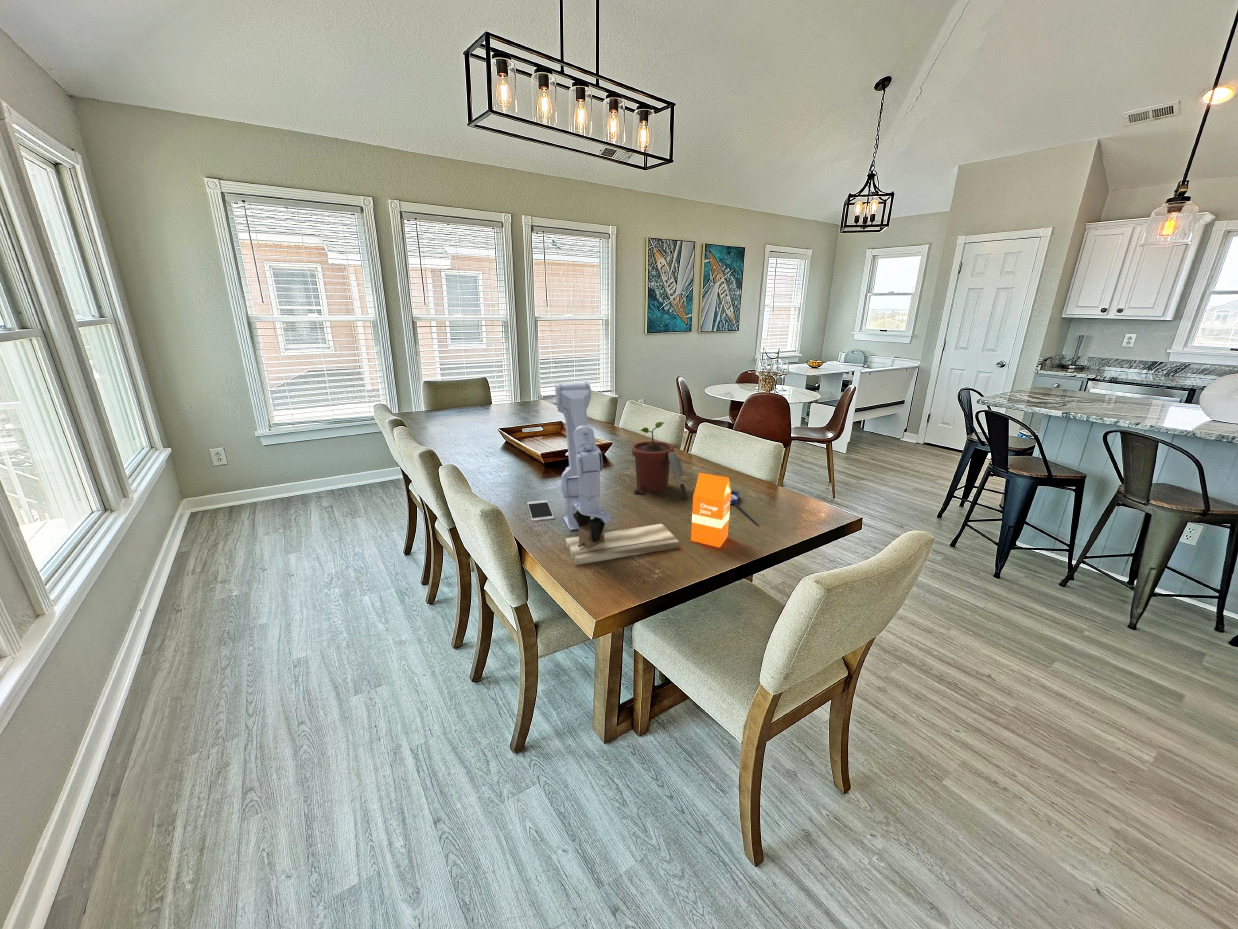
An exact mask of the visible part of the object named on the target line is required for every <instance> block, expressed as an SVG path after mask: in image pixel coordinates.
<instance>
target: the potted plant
mask: <svg viewBox="0 0 1238 929" xmlns="http://www.w3.org/2000/svg"><path fill="white" fill-rule="evenodd" d="M664 424H665V421H664V422H663V421H657V422H655V426H654V428H653V429H652V430H650V429H649V428H648V427H643V428H641V429H640V432H643V433H645V434H648V433H650V434H651V440H646V441H639V442H635V443H633V444H632V445H631V452H632V453H631V454H632V456H633V457H634V459H635V460H634V461H635V476H636V477H635V478H636V489H634V490H633V491H632V494H634V495H639V496H644V495H646V493H648V492H650V493H649V494H657V492H658V493H662V491H663V492H665V491H666V489H668V486H669V485H668V484H669V474H670V469H671V473H672V476H673V480H676V481H677V482H679V483H680V484H679V486H680V490H681V494H682V498H683V499H688V493H687V490H686V486H685V484H684V483H683V481H682V480H680V479H679V478H682V477H684V475H685V472H684V470H683V466H682V461H681V459H680V458H679V455H678V454H677V453H675V446H674V445H673V444H672V443H668V442H665V441H657V440H654V431H655V430H656V429H659V428H661V427H662V426H663V425H664ZM637 488H638V489H637ZM643 491H644V492H643Z"/></svg>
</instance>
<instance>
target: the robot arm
mask: <svg viewBox="0 0 1238 929" xmlns="http://www.w3.org/2000/svg"><path fill="white" fill-rule="evenodd" d="M554 394H555V401H556V408H557V412H559V413H561V414H563V416H564V421H565V433H566V442H567V444H566V445H567V453H568V454H567V455H568V467H567V468H566V469H565V470H564V471H563V472H562V473H561V475H560V479H561V481H560V482H561V483H560V485H561V486H560V489H561V496H562V497H563V498H564V499H565V514H566V515H565V516H563V521H564V522H565V523H566V524H565V525H566V526H567V528H568V530H569V531H575V530H579V527H581V526H584V525H586V524H588V523H589V525H590V528H591V532H592V540H593V542H594V543H595V542H598V541H600V537H601V533H602V530H603V528H604V529H605V525H607V524H610V523H612V514H610V513H608V512H607V511H606V510H605V509H604V508H603V507H604V506H603V505H602V504H601V472H602V470H603V467H604V463H603V462H604V461H603V454H602V451H601V449H600V448H599V446H597V442H596V437H595V432H594V429H593V428H592V427H590V426H589V423H588V422H589V421H588V414H587V410H588V408H589V405H590V402H591V400H592V388H591V384H590V383H589V382H588V381H585V382H568V383H566V382H565V383H560V382H558V383H557V384H556V385H555V392H554ZM591 517H592V518H591Z"/></svg>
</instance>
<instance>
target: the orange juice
mask: <svg viewBox="0 0 1238 929" xmlns="http://www.w3.org/2000/svg"><path fill="white" fill-rule="evenodd" d="M729 478H730V477H727V476H721V475H720V476H719V475H715V474H714V475H713V474H709V473H702V472H699V473H698V477H697V481H696V485H695V489H694V492H693V496H692V514H691V515H692V516H691V533H690V534H691V538H690V541H691V542H695V543H700V544H704V545H706V546H707V545H708V546H712V547H715V548H721V547H722V546H723V544H724V542H725V541H726V540H727V538H728V537H729V536H728V534H729V526H730V525H729V521H730V513H731V510H730V508H731V505H730V500H731V490H732V489H731V483H730V479H729Z"/></svg>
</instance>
